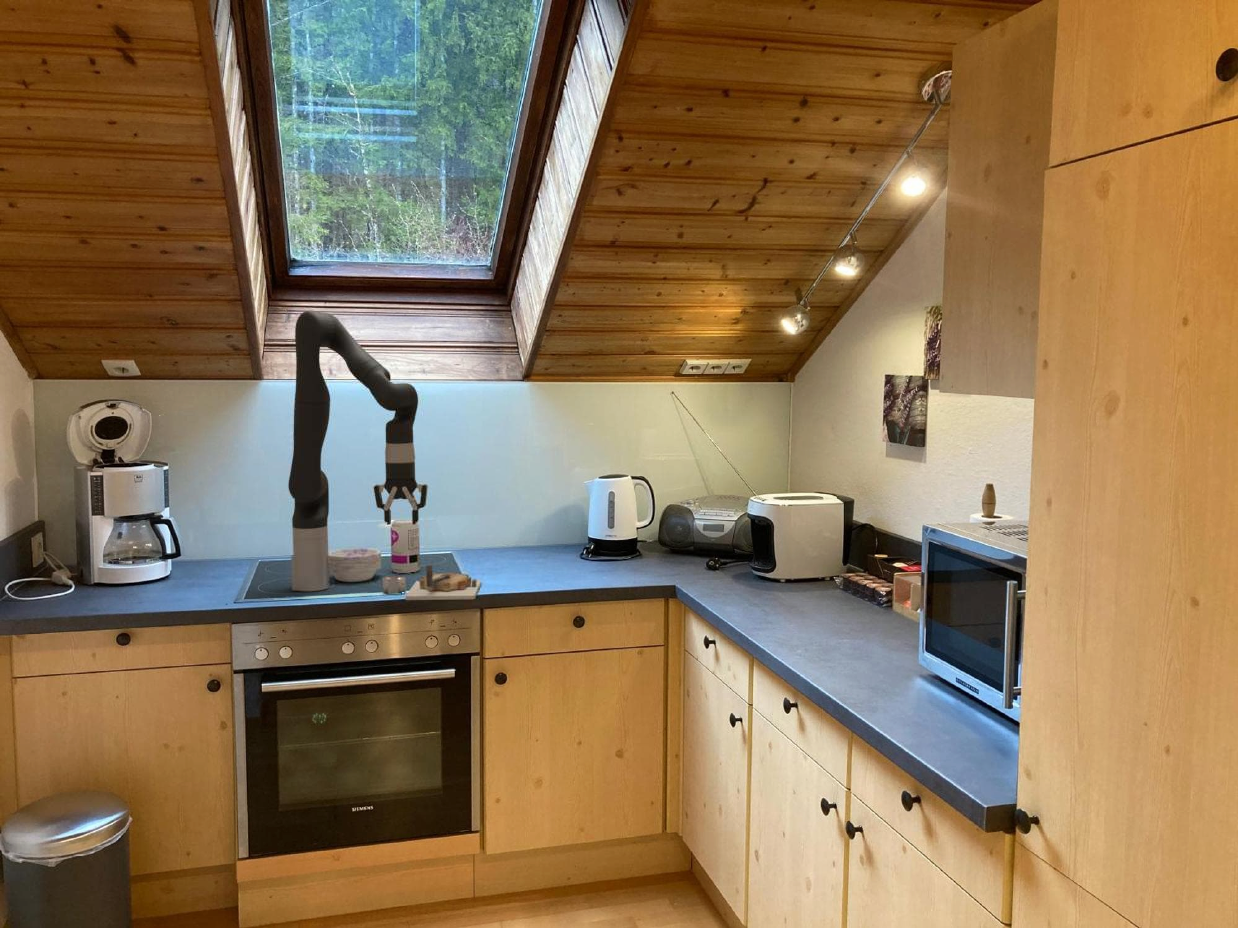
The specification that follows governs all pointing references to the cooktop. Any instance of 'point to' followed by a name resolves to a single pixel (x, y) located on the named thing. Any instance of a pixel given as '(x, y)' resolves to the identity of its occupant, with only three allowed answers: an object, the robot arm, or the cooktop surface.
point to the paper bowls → (354, 564)
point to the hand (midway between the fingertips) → (401, 523)
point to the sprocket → (444, 580)
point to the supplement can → (405, 546)
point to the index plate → (443, 592)
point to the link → (394, 585)
